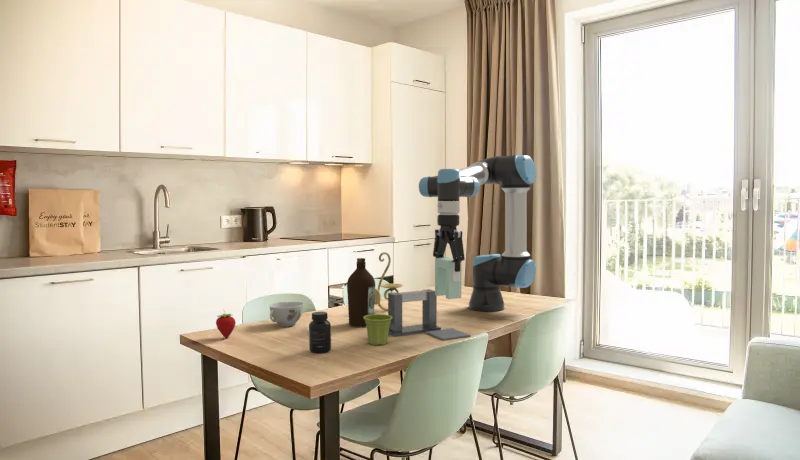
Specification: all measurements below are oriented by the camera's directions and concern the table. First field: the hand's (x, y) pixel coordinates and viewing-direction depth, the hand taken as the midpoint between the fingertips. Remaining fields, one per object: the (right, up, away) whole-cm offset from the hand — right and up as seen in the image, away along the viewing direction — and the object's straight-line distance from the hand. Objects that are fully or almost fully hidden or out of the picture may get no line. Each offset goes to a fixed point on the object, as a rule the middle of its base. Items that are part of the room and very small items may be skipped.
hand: (448, 279), depth 194 cm
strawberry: (-76, -20, -2) cm, 78 cm away
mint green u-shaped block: (0, -6, 0) cm, 6 cm away
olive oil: (-31, -19, +18) cm, 40 cm away
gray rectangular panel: (0, -19, +1) cm, 19 cm away
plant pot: (-24, -20, -9) cm, 33 cm away
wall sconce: (-22, -17, +43) cm, 51 cm away
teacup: (-60, -19, +16) cm, 65 cm away
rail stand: (-12, -19, +7) cm, 24 cm away
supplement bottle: (-41, -21, -18) cm, 50 cm away
